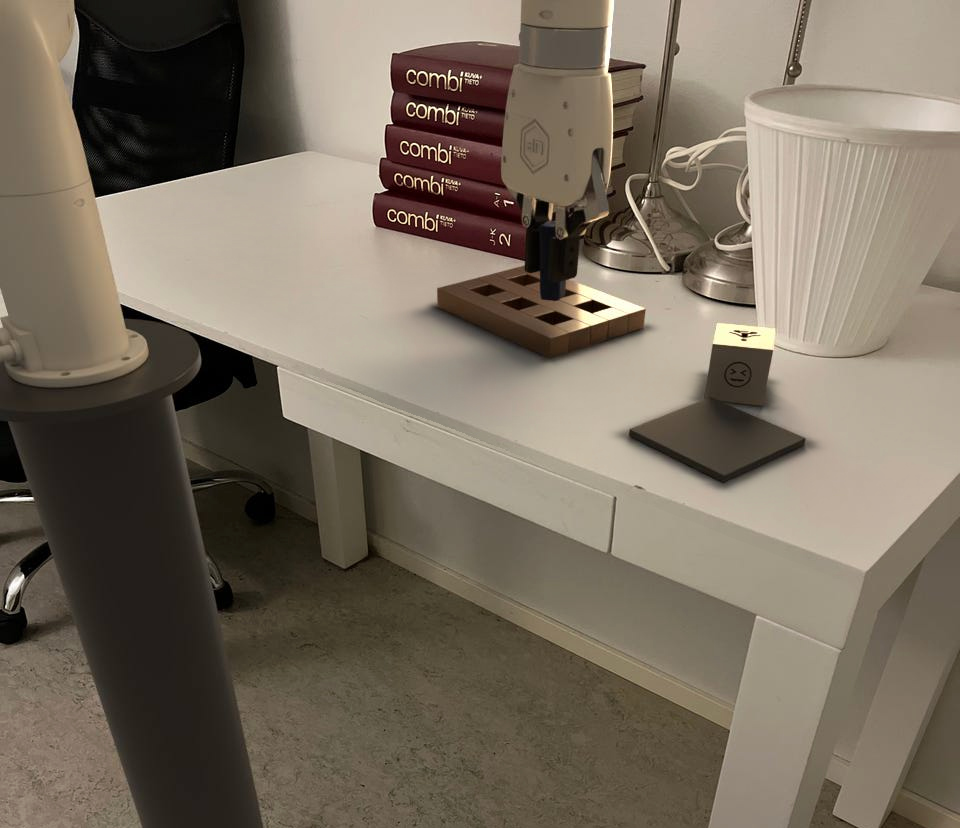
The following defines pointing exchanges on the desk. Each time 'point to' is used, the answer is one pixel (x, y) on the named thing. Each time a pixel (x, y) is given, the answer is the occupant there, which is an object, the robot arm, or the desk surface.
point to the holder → (540, 311)
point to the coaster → (717, 438)
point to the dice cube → (740, 363)
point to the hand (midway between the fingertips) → (550, 272)
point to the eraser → (547, 287)
